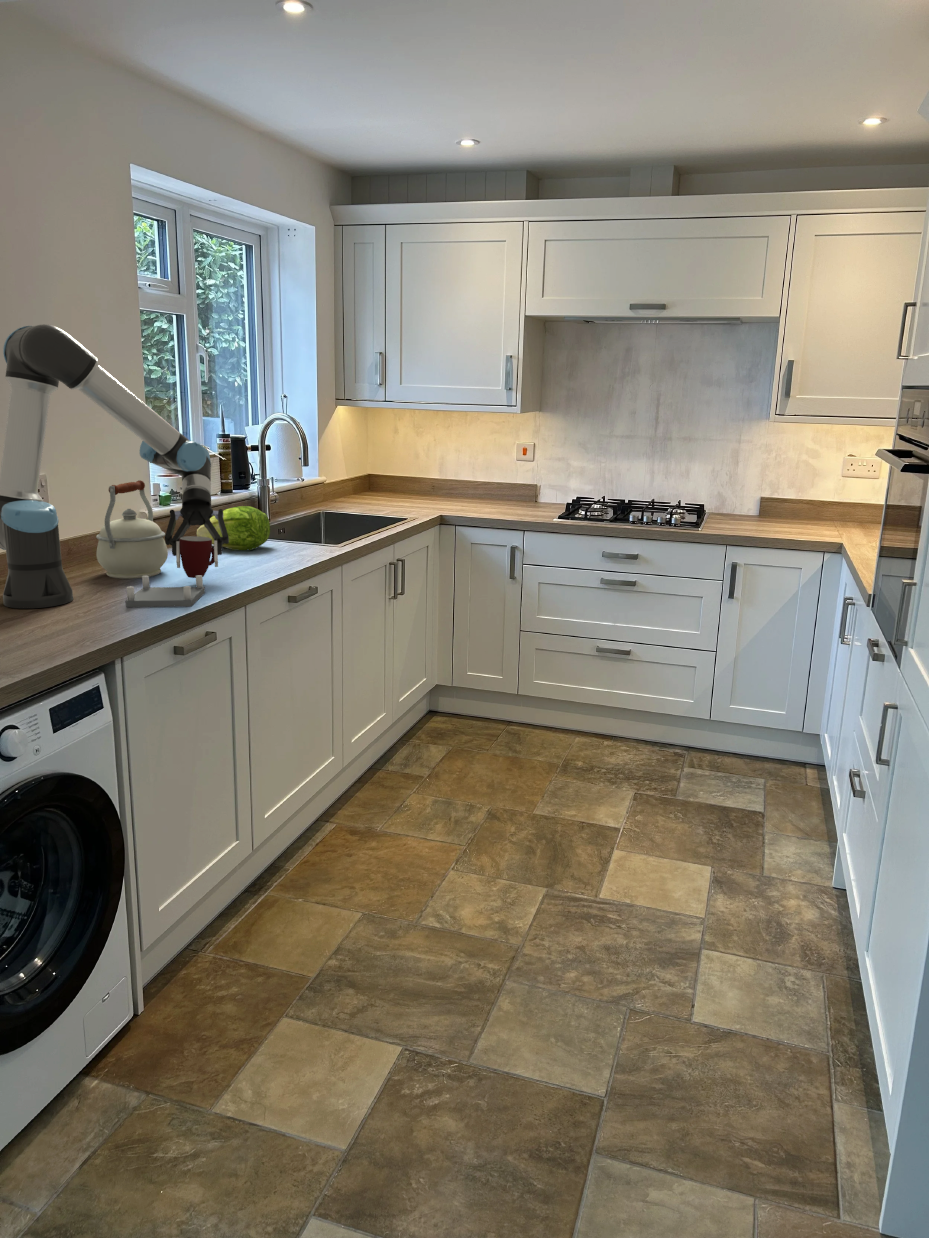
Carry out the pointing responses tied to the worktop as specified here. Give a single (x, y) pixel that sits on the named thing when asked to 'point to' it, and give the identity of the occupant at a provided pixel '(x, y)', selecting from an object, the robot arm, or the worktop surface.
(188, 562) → the mug
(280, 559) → the worktop surface
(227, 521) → the lettuce
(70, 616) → the worktop surface
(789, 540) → the worktop surface
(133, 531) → the kettle
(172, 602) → the post board
